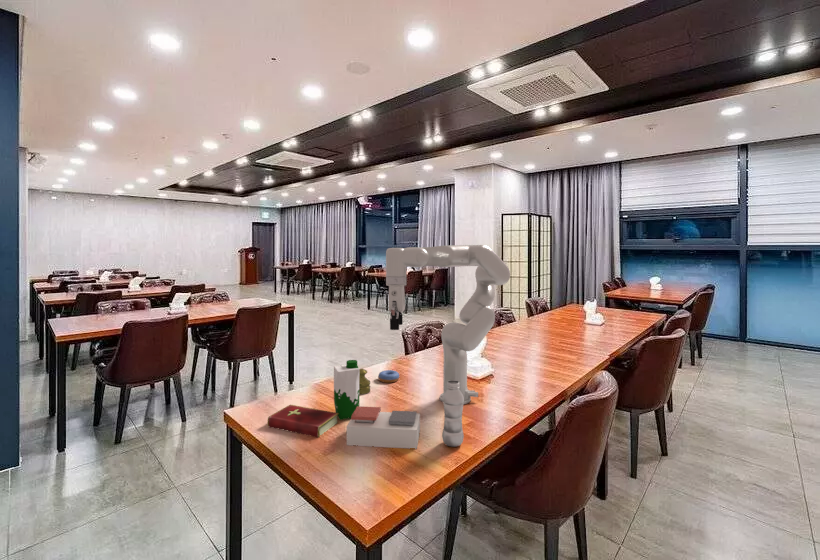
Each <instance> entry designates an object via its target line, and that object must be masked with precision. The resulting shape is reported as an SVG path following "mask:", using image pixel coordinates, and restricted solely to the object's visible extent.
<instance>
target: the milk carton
mask: <svg viewBox="0 0 820 560" xmlns="http://www.w3.org/2000/svg"><path fill="white" fill-rule="evenodd" d="M345 362H346V364H339V365H334V366H333V405H334V409H335V411H334V412H335V413H339V414H338V415H337V419H339V421H343V420H347V419H348V420H349V419H351V416H352V414H353V413H354V411H355V409H356V408H357V406H360V394H359V370H360V369H361V368H359V365H358V360H357V359H348V360H346V361H345Z"/></svg>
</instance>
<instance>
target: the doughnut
mask: <svg viewBox="0 0 820 560" xmlns="http://www.w3.org/2000/svg"><path fill="white" fill-rule="evenodd" d="M377 378H378V381H379V382H381V383H383V382H384V383H383V384H393V383H396V382H398V381H399V379H400V373H399V372H398V371H396V370H392V369H386V370H382V371H380V372H379V373H378V376H377ZM392 382H393V383H392Z"/></svg>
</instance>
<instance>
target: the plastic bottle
mask: <svg viewBox="0 0 820 560" xmlns="http://www.w3.org/2000/svg"><path fill="white" fill-rule="evenodd" d="M447 388H448V390H447V391H446V392H445V394H444V396H443V402H442V403H443V412H444V413H443V414H444V420H443V421H444V422H443V429H442V432H441V433H442V435H441V437H442V441H443V444H444V445H446V446H447V447H451V448H454V447H459V446H461V445H462V444H463V442H464V438H465V437H464V436H465V435H464V431H463V420H462V419H463V410H464V405H465V404H464V397H463V395H462V393H461V392H460V390H459V388H460V386H459V381H456V380H449V381H448V382H447Z"/></svg>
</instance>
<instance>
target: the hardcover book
mask: <svg viewBox="0 0 820 560" xmlns="http://www.w3.org/2000/svg"><path fill="white" fill-rule="evenodd" d="M338 414H339V413H336V411H330V410H323V409H318V408H317V409H316V408H313V407H306V406H300V405H295V404H289V405H287V406H285V407H283V408H281V409H280V410H278V411H276V412H275V413H272V414H271V415H270V416H269V415H268V417H267V427H268V426H270V427H269V428H271V427H274V428H273V429H276V428H279V429H278V430H280V429H284V430H283V431H285V430H288V431H287V432H290V431H292V432H291V433H295V432H297V433H296V434H300V433H301V434H300V435H304V434H306V435H305V436H309V435H311V437H314V436H315V438H320V437H321V436H322V435H323V434H325V433H326V432H327V431H329V430H330V429H332V427H333V426H335V425H337V424H338V416H337V415H338ZM324 432H325V433H324ZM320 435H321V436H320Z"/></svg>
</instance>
